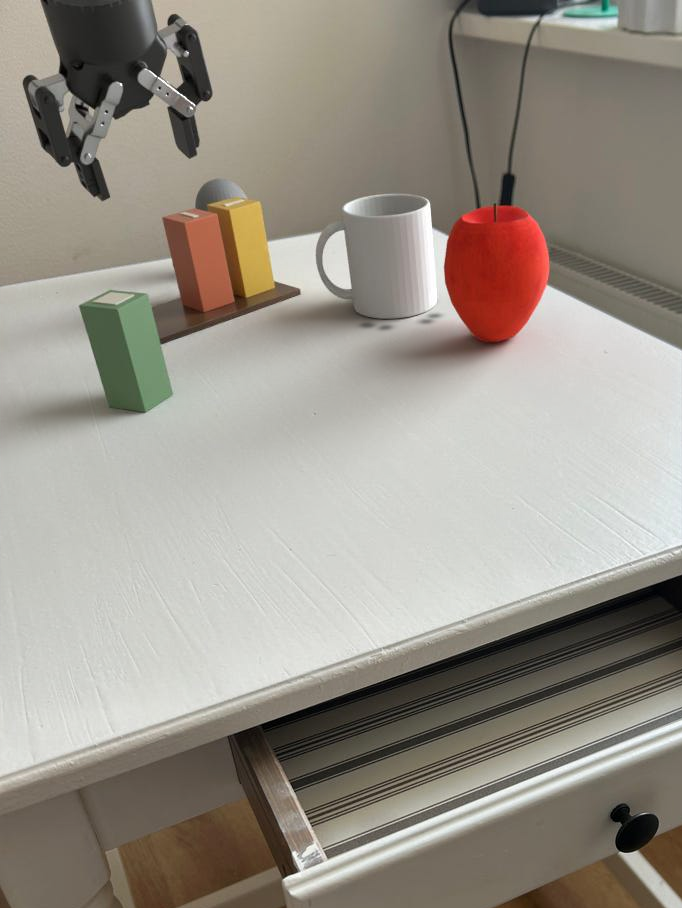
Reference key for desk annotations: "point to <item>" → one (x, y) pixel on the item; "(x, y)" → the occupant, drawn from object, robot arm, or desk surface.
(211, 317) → the dark brown rectangular board
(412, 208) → the mug
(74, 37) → the robot arm
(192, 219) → the block
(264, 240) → the yellow slotted money box
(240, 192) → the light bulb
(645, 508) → the desk surface
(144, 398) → the green rectangular block
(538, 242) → the apple
